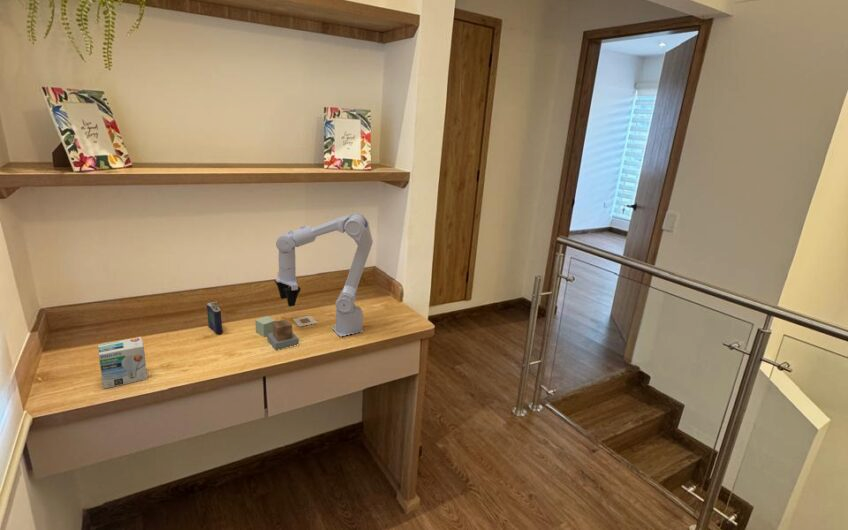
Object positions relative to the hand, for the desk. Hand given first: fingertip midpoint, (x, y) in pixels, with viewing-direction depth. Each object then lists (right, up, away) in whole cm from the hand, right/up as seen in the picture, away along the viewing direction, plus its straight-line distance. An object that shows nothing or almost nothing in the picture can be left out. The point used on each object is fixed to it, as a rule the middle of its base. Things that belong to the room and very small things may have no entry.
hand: (287, 301), depth 164 cm
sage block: (-7, -11, -3) cm, 13 cm away
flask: (-25, -10, -4) cm, 27 cm away
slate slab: (+1, -14, -8) cm, 16 cm away
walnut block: (+1, -11, -10) cm, 15 cm away
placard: (+4, -8, +8) cm, 12 cm away
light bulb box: (-36, -19, -35) cm, 54 cm away
